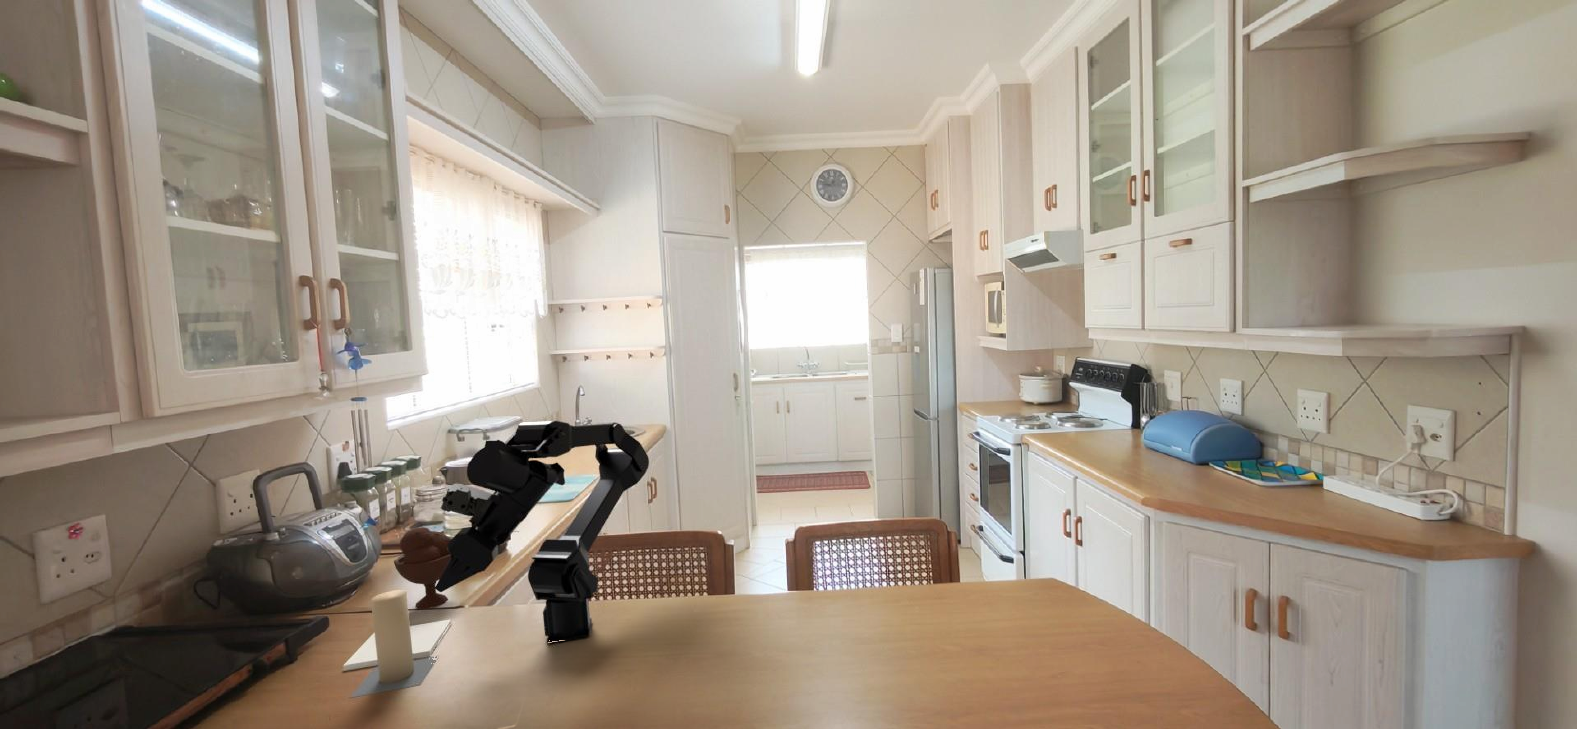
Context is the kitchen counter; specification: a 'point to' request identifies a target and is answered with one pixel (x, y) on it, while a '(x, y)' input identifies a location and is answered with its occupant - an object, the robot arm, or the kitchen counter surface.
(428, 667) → the mat
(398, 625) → the tan tapered rounded piece
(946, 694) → the kitchen counter surface
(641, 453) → the robot arm
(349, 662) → the cutting board
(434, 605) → the ice cream bowl
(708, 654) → the kitchen counter surface
